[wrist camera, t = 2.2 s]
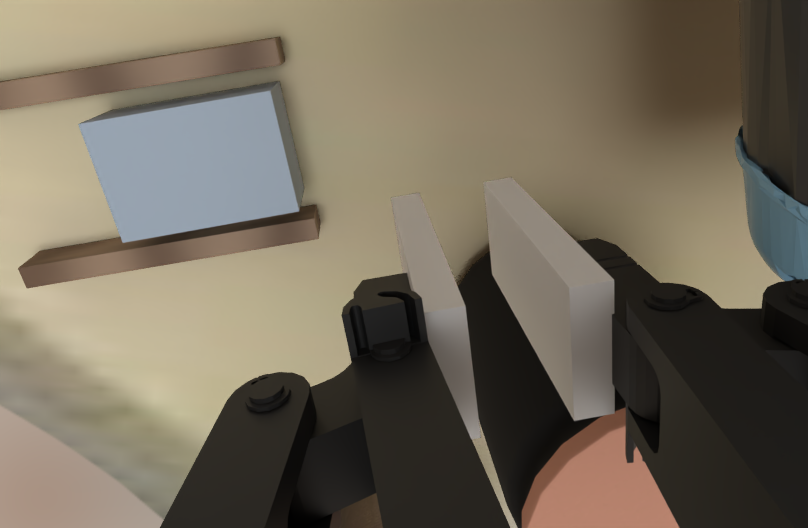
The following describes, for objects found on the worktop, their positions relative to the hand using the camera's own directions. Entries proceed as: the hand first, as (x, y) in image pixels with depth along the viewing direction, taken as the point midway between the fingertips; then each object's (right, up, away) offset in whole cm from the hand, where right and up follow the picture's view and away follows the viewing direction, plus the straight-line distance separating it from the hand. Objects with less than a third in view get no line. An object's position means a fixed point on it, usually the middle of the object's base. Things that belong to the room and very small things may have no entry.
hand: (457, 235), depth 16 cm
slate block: (-12, +6, +17) cm, 22 cm away
